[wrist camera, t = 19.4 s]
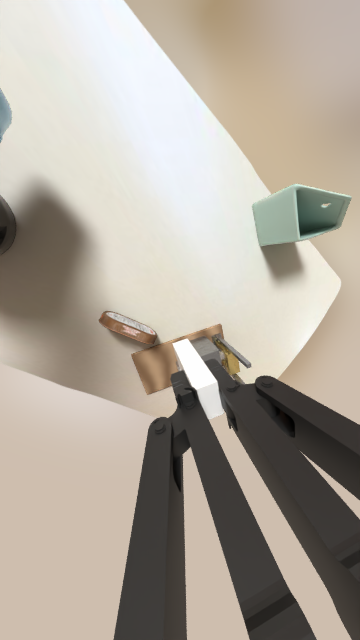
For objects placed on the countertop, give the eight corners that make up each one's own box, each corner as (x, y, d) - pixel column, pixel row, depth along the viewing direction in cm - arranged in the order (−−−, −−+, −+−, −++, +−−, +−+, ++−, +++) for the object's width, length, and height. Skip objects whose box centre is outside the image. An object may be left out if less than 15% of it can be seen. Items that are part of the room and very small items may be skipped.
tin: (101, 316, 47) (95, 326, 40) (106, 306, 47) (100, 314, 39) (152, 336, 53) (155, 349, 45) (156, 327, 52) (160, 339, 44)
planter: (238, 231, 49) (299, 213, 31) (253, 203, 48) (325, 166, 30) (278, 259, 55) (350, 257, 37) (292, 234, 53) (374, 219, 35)
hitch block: (183, 376, 58) (203, 421, 42) (174, 345, 54) (192, 382, 38) (225, 361, 60) (258, 398, 44) (219, 330, 56) (254, 358, 40)
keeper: (217, 359, 58) (230, 375, 50) (213, 341, 56) (226, 355, 48) (225, 356, 59) (239, 371, 50) (222, 338, 56) (236, 351, 48)
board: (146, 392, 58) (147, 394, 57) (131, 354, 53) (131, 356, 52) (226, 362, 62) (228, 363, 61) (219, 323, 57) (221, 325, 56)
